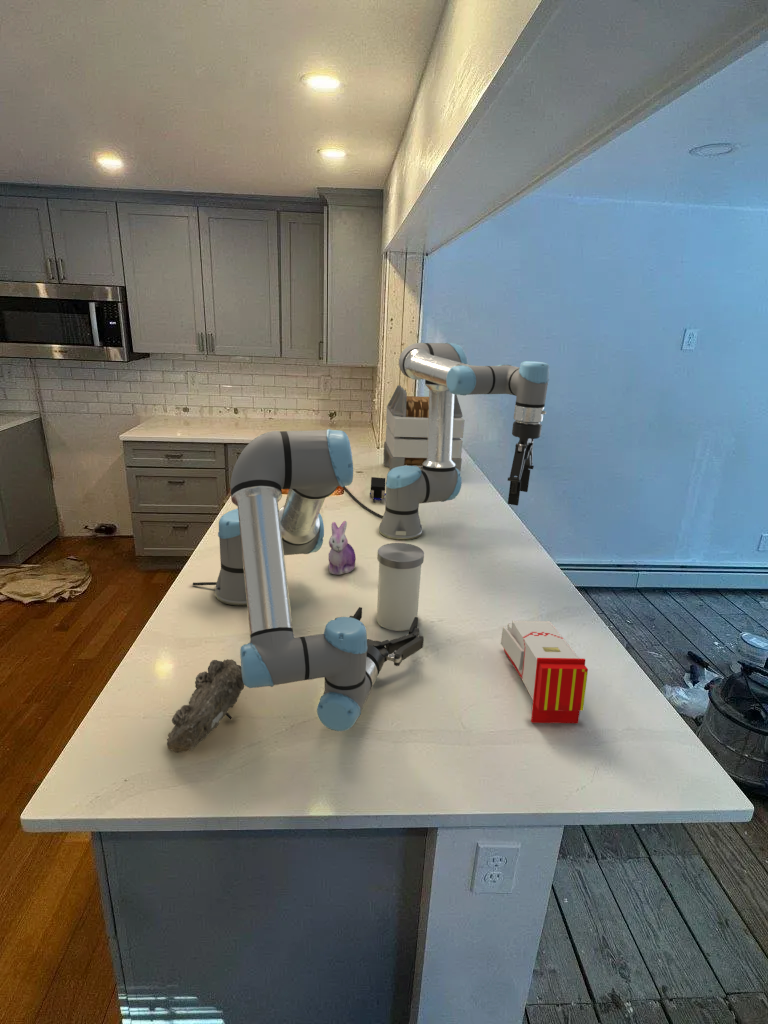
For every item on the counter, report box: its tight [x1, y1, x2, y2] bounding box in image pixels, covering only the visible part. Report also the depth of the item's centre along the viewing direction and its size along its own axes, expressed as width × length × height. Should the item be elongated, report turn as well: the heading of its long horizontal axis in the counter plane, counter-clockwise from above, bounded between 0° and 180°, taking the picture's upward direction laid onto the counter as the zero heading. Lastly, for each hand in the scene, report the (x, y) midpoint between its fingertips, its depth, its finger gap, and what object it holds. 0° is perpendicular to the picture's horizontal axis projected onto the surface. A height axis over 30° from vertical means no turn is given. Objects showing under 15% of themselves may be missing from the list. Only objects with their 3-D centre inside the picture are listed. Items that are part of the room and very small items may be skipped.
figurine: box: [327, 520, 357, 576], centre depth 168 cm, size 9×10×15 cm
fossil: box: [166, 658, 245, 754], centre depth 106 cm, size 22×10×15 cm
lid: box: [376, 542, 425, 569], centre depth 138 cm, size 11×11×2 cm
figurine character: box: [369, 476, 386, 504], centre depth 234 cm, size 7×8×15 cm
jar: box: [376, 561, 422, 632], centre depth 141 cm, size 10×10×19 cm
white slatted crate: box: [383, 384, 465, 475], centre depth 268 cm, size 34×33×41 cm
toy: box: [500, 620, 589, 724], centre depth 121 cm, size 12×13×30 cm
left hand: (388, 617), depth 134 cm, fingers open, 13 cm apart
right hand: (517, 497), depth 158 cm, fingers open, 13 cm apart
